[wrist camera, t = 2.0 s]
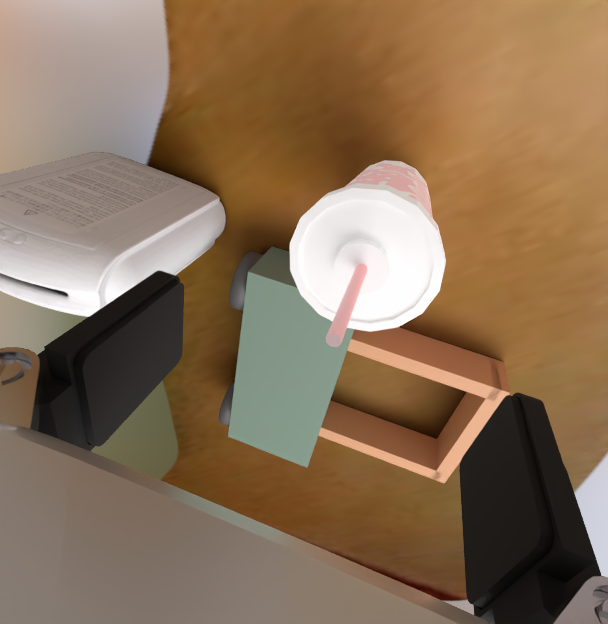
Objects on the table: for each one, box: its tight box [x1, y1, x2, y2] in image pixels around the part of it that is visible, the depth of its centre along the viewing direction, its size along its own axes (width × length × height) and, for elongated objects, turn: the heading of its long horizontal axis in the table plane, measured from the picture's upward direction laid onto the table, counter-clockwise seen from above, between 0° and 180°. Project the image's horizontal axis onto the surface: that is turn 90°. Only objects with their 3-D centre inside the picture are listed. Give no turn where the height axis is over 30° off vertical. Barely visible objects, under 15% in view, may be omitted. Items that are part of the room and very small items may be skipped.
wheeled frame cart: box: [219, 246, 510, 483], centre depth 28 cm, size 16×18×4 cm
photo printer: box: [0, 152, 226, 317], centre depth 22 cm, size 10×4×12 cm, turn 76°
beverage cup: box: [290, 160, 446, 347], centre depth 17 cm, size 6×6×14 cm
